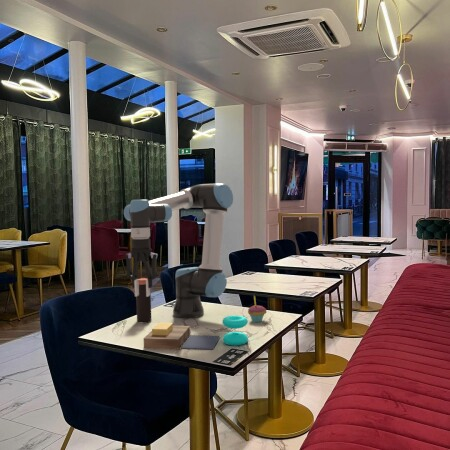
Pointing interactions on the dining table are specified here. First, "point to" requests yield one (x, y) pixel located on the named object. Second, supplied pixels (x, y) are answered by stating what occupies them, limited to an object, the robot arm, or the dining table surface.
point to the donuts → (235, 323)
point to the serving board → (168, 339)
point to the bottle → (143, 303)
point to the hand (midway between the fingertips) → (142, 295)
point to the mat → (201, 342)
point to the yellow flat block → (162, 329)
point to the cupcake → (256, 312)
